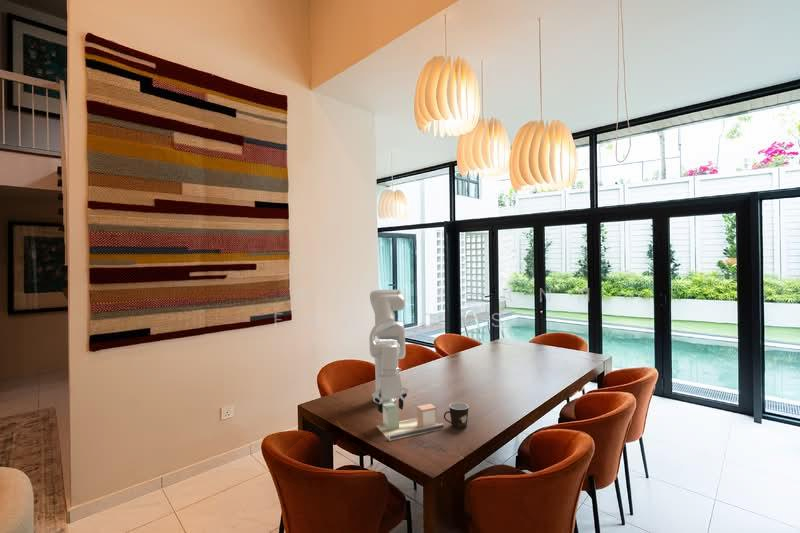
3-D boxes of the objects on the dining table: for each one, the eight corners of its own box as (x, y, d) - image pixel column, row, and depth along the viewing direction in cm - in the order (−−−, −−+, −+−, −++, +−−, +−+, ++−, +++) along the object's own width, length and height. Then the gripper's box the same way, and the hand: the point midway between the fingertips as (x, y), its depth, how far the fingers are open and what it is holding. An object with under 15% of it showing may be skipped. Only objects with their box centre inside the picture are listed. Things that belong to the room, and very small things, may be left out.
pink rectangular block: (422, 430, 164) (422, 410, 164) (417, 426, 169) (416, 406, 169) (436, 427, 167) (436, 407, 167) (431, 423, 172) (430, 403, 172)
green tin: (382, 423, 172) (382, 404, 172) (393, 421, 174) (392, 402, 174) (388, 430, 166) (388, 409, 165) (399, 427, 168) (398, 407, 167)
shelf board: (376, 428, 170) (376, 421, 170) (427, 417, 180) (427, 411, 180) (389, 443, 155) (389, 435, 155) (444, 431, 166) (444, 424, 166)
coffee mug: (466, 424, 173) (466, 402, 173) (471, 432, 164) (470, 409, 164) (441, 424, 172) (441, 403, 172) (444, 433, 164) (444, 410, 164)
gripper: (404, 368, 176) (405, 404, 176) (369, 372, 169) (369, 410, 169) (411, 371, 169) (411, 410, 169) (374, 376, 163) (375, 416, 162)
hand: (390, 410), depth 169 cm, fingers open, 9 cm apart
